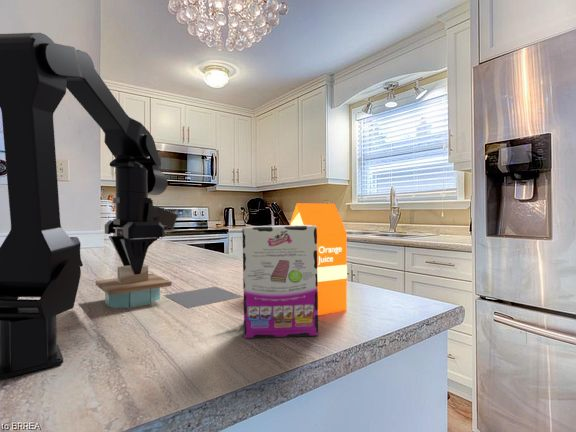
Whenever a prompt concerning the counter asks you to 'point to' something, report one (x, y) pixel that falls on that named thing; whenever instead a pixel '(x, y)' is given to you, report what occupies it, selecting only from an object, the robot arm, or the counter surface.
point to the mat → (202, 297)
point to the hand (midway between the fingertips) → (132, 272)
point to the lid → (132, 281)
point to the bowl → (133, 298)
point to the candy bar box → (280, 281)
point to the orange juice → (327, 254)
